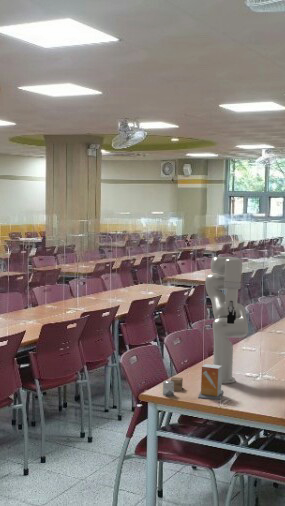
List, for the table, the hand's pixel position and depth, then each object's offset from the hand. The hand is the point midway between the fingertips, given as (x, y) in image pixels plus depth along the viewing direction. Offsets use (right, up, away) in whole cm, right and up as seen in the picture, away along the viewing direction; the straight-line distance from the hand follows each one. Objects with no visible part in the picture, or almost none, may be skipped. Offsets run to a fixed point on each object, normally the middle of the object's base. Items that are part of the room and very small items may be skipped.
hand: (231, 321), depth 302 cm
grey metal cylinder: (-30, -33, -4) cm, 45 cm away
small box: (-10, -33, -4) cm, 35 cm away
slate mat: (-10, -33, -3) cm, 35 cm away
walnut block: (-25, -33, +6) cm, 42 cm away
